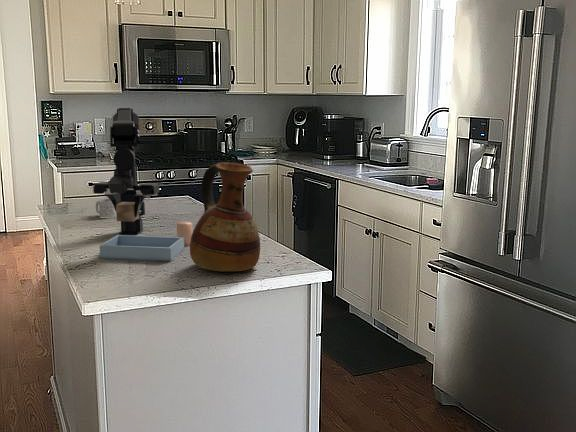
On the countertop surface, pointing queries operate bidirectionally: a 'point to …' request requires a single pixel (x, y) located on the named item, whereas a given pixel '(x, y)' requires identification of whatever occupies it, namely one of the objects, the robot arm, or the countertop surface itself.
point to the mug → (105, 208)
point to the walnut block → (126, 212)
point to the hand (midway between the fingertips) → (127, 216)
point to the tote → (142, 248)
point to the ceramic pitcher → (225, 223)
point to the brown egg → (185, 231)
